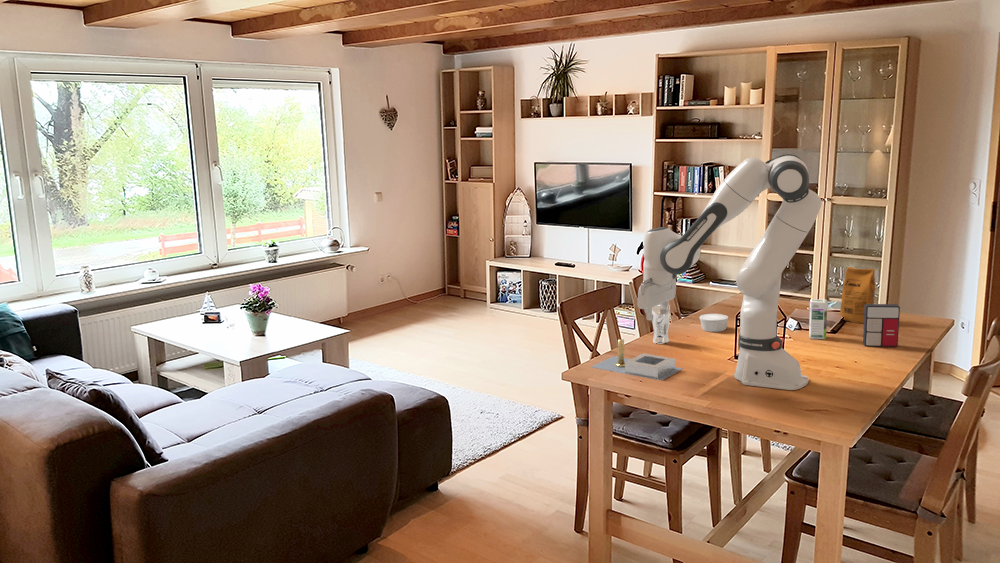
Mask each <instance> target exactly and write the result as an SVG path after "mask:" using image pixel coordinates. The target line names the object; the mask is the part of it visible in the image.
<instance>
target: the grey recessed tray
mask: <svg viewBox="0 0 1000 563" xmlns="http://www.w3.org/2000/svg"><path fill="white" fill-rule="evenodd" d="M629 359H630V360H628V361H626V362H625V373H630V374H636V375H641V376H646V377H652V378H657V379H658V378H660V377H662V376H663V375H665V374H667V373H669V372H671V371H672V370H674V369H675V367H676V358H672V357H668V356H667V357H666V356H661V355H656V354H655V355H654V354H651V353H650V354H649V353H643V352H642V353H641V354H639V355H636V356H635V357H633V358H629Z"/></svg>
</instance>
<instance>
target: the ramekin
mask: <svg viewBox="0 0 1000 563" xmlns="http://www.w3.org/2000/svg"><path fill="white" fill-rule="evenodd" d="M699 320H700V327H701V329H702V330H703V331H705V332H709V333H710V332H711V333H720V332H724V331H725V330H726V329H727V327H728V322H729V316H728V315H725V314H721V313H705V314H701V315H700V316H699Z"/></svg>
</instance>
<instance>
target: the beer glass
mask: <svg viewBox="0 0 1000 563" xmlns="http://www.w3.org/2000/svg"><path fill="white" fill-rule="evenodd" d="M661 307H662V304H659V305H657V306H654V307H652V311H651V312H652V315H653V320H651V324H652V327H653V336H652V337H653V338H652V342H653V343H654V344H656V343H657V344H656V345H666V344H665V343H667V344H669V343H670V339H669V327H670V320H671V306H670V303H669V304H668V307H667V314H664V315H663V314H660V309H661ZM668 342H669V343H668Z"/></svg>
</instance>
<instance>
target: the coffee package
mask: <svg viewBox="0 0 1000 563" xmlns="http://www.w3.org/2000/svg"><path fill="white" fill-rule="evenodd" d="M875 281H876V280H875V268H861V269H860V268H855V267H853V266H852V267H851V266H847V267H846V271H845V275H844V281H843V286H842V293H841V303H840V307H839V308H840V311H839V312H840V316H842V317H844V320H845V321H844V322H851V323H855V324H864V305H865V304H875V296H876V295H875V294H876V293H875V291H876V283H875Z"/></svg>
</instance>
